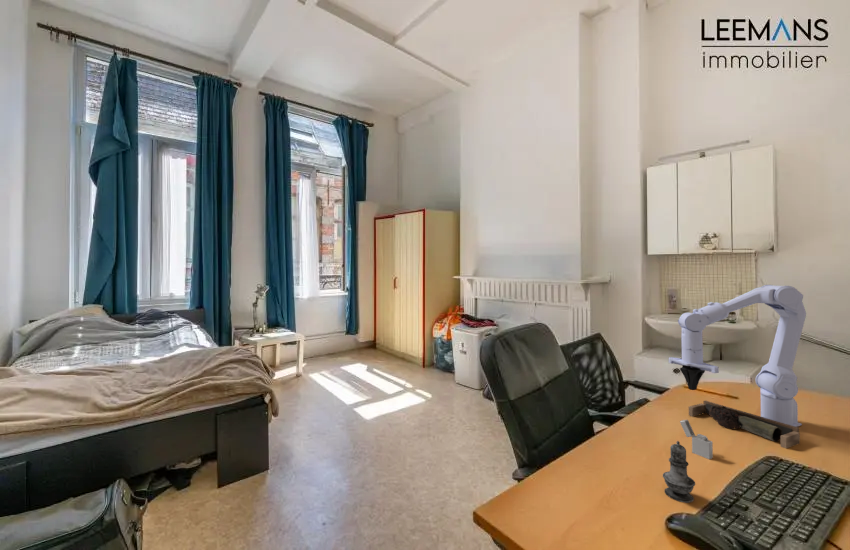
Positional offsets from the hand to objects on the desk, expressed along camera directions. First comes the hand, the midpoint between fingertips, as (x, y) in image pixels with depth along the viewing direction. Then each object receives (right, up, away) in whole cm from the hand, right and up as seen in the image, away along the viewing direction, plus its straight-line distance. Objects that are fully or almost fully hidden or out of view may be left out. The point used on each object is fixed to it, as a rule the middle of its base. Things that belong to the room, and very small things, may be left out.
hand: (692, 389), depth 120 cm
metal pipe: (+8, -10, -9) cm, 16 cm away
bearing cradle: (+9, -9, -8) cm, 15 cm away
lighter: (-16, -10, -23) cm, 30 cm away
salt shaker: (-34, -10, -41) cm, 54 cm away
